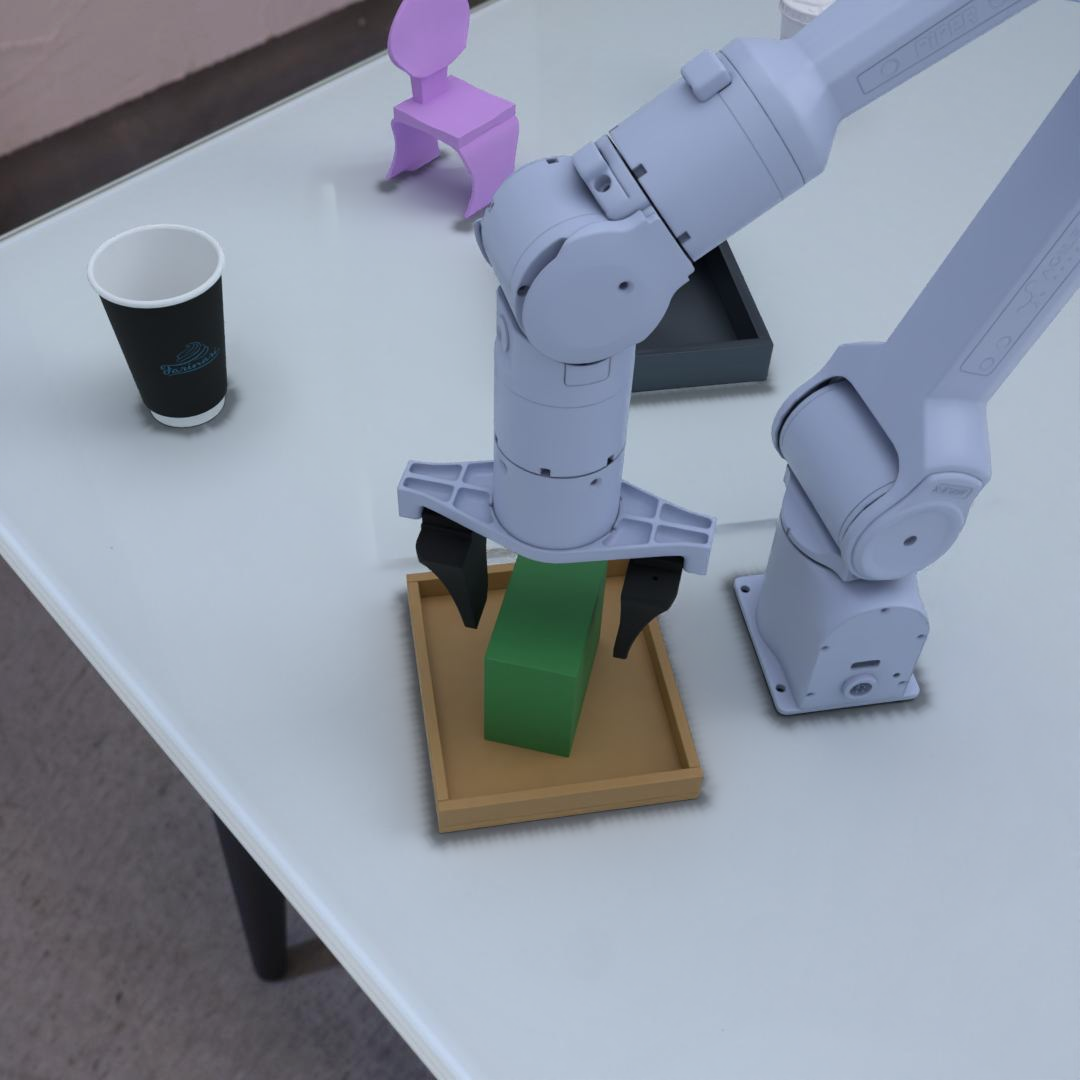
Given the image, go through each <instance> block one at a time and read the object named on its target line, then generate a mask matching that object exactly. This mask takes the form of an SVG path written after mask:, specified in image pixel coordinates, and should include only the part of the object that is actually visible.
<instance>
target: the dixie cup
mask: <svg viewBox="0 0 1080 1080" xmlns="http://www.w3.org/2000/svg"><path fill="white" fill-rule="evenodd" d="M225 265H226V256H225V252H224V249H223V248H222V246H221V244H220V243H219V242H218V240H217V239H216V238H214V237H213V236H212V235H211V234H209V233H207V232H205V231H203V230H201V229H198V228H195V227H193V226H189V225H184V224H179V223H178V224H176V223H157V224H156V223H154V224H153V223H152V224H146V225H141V226H137V227H133V228H129V229H128V230H124V231H122V232H121V231H120V232H119V233H117V234H115V235H113V236H112V237H109V238H108V239H107V240H105V241H104V242H102V244H100V245H99V246H98V247H97V248H96V249H95V250H94V251H93V253H92V254H91V256H90V257H89V259H88V262H87V266H86V278H87V281H88V283H89V285H90V287H91V288H92V290H93V291H94V292H95V293H96V294H97V295H98V297H99V299H100V301H101V303H102V306H103V309H104V311H105V315H106V316H107V318H108V321H109V323H110V325H111V328H112V330H113V333H114V335H115V338H116V340H117V342H118V345H119V348H120V349H121V352H122V354H123V357H124V360H125V362H126V365H127V366H128V369H129V371H130V374H131V376H132V379H133V381H134V383H135V385H136V388H137V391H138V392H139V395H140V398H141V400H142V402H143V403H144V406H146V408H148V410H149V411H150V413H151V414H152V416H153V417H154V419H156V420H157V422H159V423H160V424H163V425H166V426H170V427H175V428H191V427H195V426H199V425H202V424H205V423H207V422H208V421H209V422H210V420H212V419H214V418H215V417H216V416H217V415H218V414H219V413H221V411H222V409H223V408H224V405H225V400H226V399H225V398H226V397H225V396H226V394H227V391H228V373H227V372H228V371H227V370H228V369H227V351H226V350H227V349H226V333H225V314H224V295H223V293H224V292H223V272H224V270H225Z"/></svg>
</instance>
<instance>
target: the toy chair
mask: <svg viewBox="0 0 1080 1080" xmlns="http://www.w3.org/2000/svg"><path fill="white" fill-rule="evenodd" d="M470 19H471V10H470V4H469V1H468V0H402V2H401V3H400V5H399V7H398V9H397V11H396V13H395V15H394V18H393V20H392V23H391V26H390V29H389V33H388V36H387V42H386V44H387V47H386V49H387V54H388V58H389V59H390V61H391V63H392V64H393V65H394V66H395V67H396V68H397V69H399V70H401V71H402V72H404V73H406V74H407V75H408V76H409V78H410V85H411V93H412V97H410V98H408V99H405V100H403V101H402V102H399V103H398V104H396V105H394V106H393V107H392V108H393V118H392V119H391V121H390V127H391V131H392V135H393V139H394V153H393V158H392V161H391V164H390V167H389V170H388V172H387V175H386V179H388V180H390V179H392V178H394V177H395V176H397V175H399V174H401V173H402V172H415V171H417V170H418V169H420V168H422V167H423V166H425V165H427V164H428V163H430V162H432V161H433V160H435V159H436V158H438V157H440V155H441V150H440V145H439V141H440V142H442V143H443V144H445V145H447V146H449V147H450V148H452V149H453V150H454V151H455V152H457V154H458V156H459V158H460V159H461V162H462V163H463V165H464V166H465V169H466V170H467V173H468V175H469V177H470V181H471V193H470V194H471V195H470V198H469V201H468V205H467V207H466V209H465V212H464V214H463V218H464V219H468V218H470V217H471V216H473V215H474V214H476V213H477V212H479V211H480V210H482V209H484V208H486V207H487V206H488V205H490V204H491V202H492V199H491V198H492V197H493V195H494V194H495V192H496V191H497V189H498V188H499V187H500V185H501V184H502V183H503V182H504V181H505V179H506V178H507V177H508V176H509V175H511V174H512V173H513V172H514V171H515V169H516V166H515V165H516V155H517V149H518V143H519V135H520V122H519V118H518V117H517V115H516V109H517V108H516V107H517V106H516V105H517V104H516V103H514V102H511V101H510V100H509V99H505V98H503V97H501V96H497V95H495V94H492V93H489V92H487V91H485V90H483V89H481V88H479V87H476V86H474V85H473V84H472V83H469V82H467V81H465V80H464V79H461V78H459V77H458V76H455V75H452V74H450V75H448V68H449V66H450V65H451V64H452V63H453V62H454V61H455V60H456V59H457V58H458V57H459V56H460V55H461V54H462V53H463V51H464V50H465V49H466V48H467V41H468V35H469V27H470Z"/></svg>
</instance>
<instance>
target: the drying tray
mask: <svg viewBox="0 0 1080 1080" xmlns="http://www.w3.org/2000/svg"><path fill="white" fill-rule="evenodd" d="M629 561H630V559H617V560H608V565H607V574H606V584H605V593H604V603H603V612H602V621H601V631H600V639H599V643H598V647H597V651H596V655H595V659H594V662H593V666H592V670H591V674H590V678H589V682H588V686H587V690H586V694H585V697H584V701H583V705H582V709H581V713H580V717H579V721H578V725H577V729H576V732H575V736H574V740H573V744H572V748H571V752H570V756H569V757H563V756H559V755H554V754H550V753H545V752H540V751H536V750H531V749H526V748H522V747H517V746H512V745H508V744H503V743H499V742H494V741H489V740H485V739H484V657H485V654H486V651H487V647H488V644H489V641H490V638H491V635H492V632H493V629H494V626H495V623H496V620H497V617H498V614H499V611H500V608H501V605H502V602H503V599H504V596H505V593H506V590H507V587H508V584H509V580H510V577H511V574H512V571H513V568H514V565H515V562H507V563H498V564H490V565H488V564H487V570H488V593H487V601H486V604H485V607H484V610H483V613H482V615H481V618H480V621H479V624H478V627H477V629H473V628H468V627H465V626H464V623H463V621H462V618H461V615H460V613H459V611H458V608H457V606H456V604H455V602H454V600H453V598H452V597H451V595H450V593H449V591H448V590H447V588H446V587H445V585H444V584H443V583H442V582H441V580H440V579H439V578H438V577H437V576H436V575H435V574H434V573H433V572H432V571H424V572H415V573H406V574H405V577H406V579H405V580H406V592H407V602H408V609H409V611H408V612H409V617H410V625H411V633H412V639H413V645H414V646H413V647H414V654H415V663H416V669H417V676H418V677H417V678H418V685H419V691H420V692H419V693H420V699H421V706H422V714H423V722H424V728H425V736H426V744H427V751H428V758H429V765H430V766H429V767H430V774H431V775H430V776H431V781H432V790H433V797H434V805H435V812H436V818H437V819H436V820H437V826H438V832H439V834H445V833H451V832H459V831H465V830H474V829H480V828H488V827H495V826H496V827H497V826H503V825H510V824H517V823H523V822H525V823H526V822H532V821H538V820H547V819H553V818H561V817H570V816H576V815H585V814H591V813H599V812H607V811H612V810H613V811H615V810H621V809H628V808H635V807H642V806H650V805H657V804H664V803H665V804H666V803H672V802H679V801H688V800H694V799H695V800H696V799H698V798H699V797H700V792H701V789H702V785H703V780H704V772H703V770H702V767H701V762H700V759H699V757H698V752H697V749H696V745H695V742H694V738H693V735H692V733H691V732H692V731H691V729H690V728H691V727H690V726H689V722H688V718H687V716H686V711H685V708H684V705H683V702H682V697H681V694H680V692H679V688H678V685H677V681H676V678H675V675H674V671H673V667H672V664H671V661H670V657H669V653H668V651H667V647H666V644H665V641H664V637H663V633H662V630H661V627H660V622H659V619H658V616H657V617H655V618H654V619H653V620H652V621H650V622H649V623H648V624H647V625H646V626H645V627H644V629H643V630H642V631H641V632H640V634H639V635H638V636H637V638H636V639H635V641H634V642H633V644H632V646H631V648H630V650H629V652H628V657H627V659H625V660H624V659H620V658H615V657H613V648H614V644H615V640H616V636H617V632H618V628H619V624H620V613H621V600H620V599H621V592H622V588H623V584H624V580H625V576H626V572H627V568H628V564H629Z"/></svg>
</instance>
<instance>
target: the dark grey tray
mask: <svg viewBox="0 0 1080 1080" xmlns="http://www.w3.org/2000/svg"><path fill="white" fill-rule="evenodd" d="M677 239H678V238H677ZM679 242H680V241H679ZM681 245H682V244H681ZM682 247H683V246H682ZM683 248H684V247H683ZM684 250H685V249H684ZM685 251H686V250H685ZM686 253H687V252H686ZM687 255H688V256H689V254H688V253H687ZM689 258H690V260H691V262H692V265H693V267H694V272H693V273H691V274H690V275H689V276H688V278H689V281H688V282H687V283H685V284H684V285H682V286H681V287H680V288H679V289H678V290H677V291H676V292H675V293H674V295H673V296H672V298H671V301H670V303H669V306H668V308H667V310H666V312H665V314H664V316H663V318H662V319H661V321H660V322H659V324H658V325H657V327H656V328H655V329H654V330H653V331H652V333H651V334H650V335H649V336H648V337H647V338H646V339H645V340H643V341H642V342H640V343H637V344H636V348H635V363H634V371H633V380H632V390H631V394H633V393H644V392H656V391H666V390H677V389H688V388H698V387H699V388H700V387H709V386H710V387H711V386H720V385H731V384H739V383H740V384H742V383H755V382H763V381H767V379H768V375H769V370H770V365H771V359H772V355H773V350H774V346H775V344H774V342H773V340H772V338H771V335H770V333H769V330H768V329H767V326H766V324H765V322H764V320H763V317H762V315H761V313H760V311H759V309H758V306H757V304H756V302H755V299H754V297H753V295H752V292H751V291H750V288H749V286H748V284H747V281H746V279H745V277H744V275H743V272H742V270H741V268H740V265H739V264H738V262H737V259H736V257H735V254H734V253H733V250H732V248H731V246H730V243H729V241H728V239H727V240H725V241H724V242H722V243H721V244H719V245H718V246H716V247H715V248H714V249H712V250H711V251H709V252H708V253H706V254H705V255H703V256H702V257H701V258H699V259H698V260H696V261H695V262H694V261H693V260H692V258H691V257H690V256H689Z"/></svg>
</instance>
